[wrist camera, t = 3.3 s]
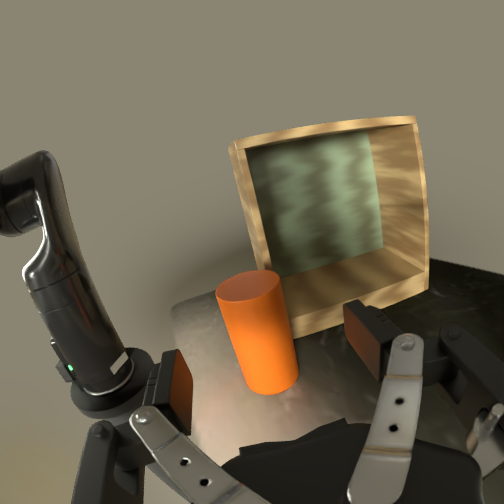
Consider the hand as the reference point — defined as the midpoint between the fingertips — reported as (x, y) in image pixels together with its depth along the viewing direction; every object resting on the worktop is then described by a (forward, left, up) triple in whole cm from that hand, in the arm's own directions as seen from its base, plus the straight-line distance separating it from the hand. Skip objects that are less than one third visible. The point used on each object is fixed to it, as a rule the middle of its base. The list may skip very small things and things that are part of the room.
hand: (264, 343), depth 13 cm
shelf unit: (+13, +22, -13) cm, 29 cm away
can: (0, +11, -13) cm, 17 cm away
